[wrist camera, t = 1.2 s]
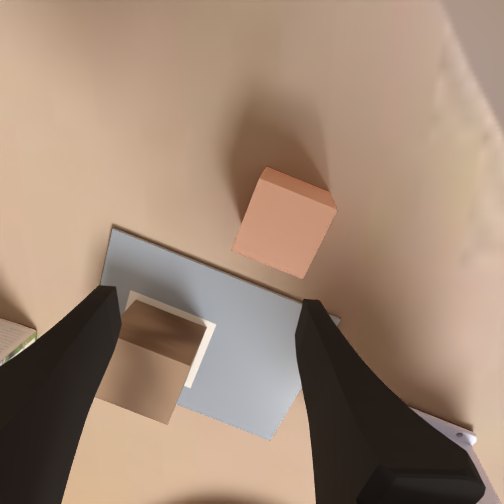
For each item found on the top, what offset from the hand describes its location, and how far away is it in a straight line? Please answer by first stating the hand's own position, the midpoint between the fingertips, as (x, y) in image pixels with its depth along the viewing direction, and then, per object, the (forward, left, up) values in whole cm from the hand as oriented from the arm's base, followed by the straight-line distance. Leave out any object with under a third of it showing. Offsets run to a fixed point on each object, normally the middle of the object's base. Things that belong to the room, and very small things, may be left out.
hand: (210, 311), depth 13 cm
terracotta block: (-2, -2, -11) cm, 12 cm away
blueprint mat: (0, +11, -11) cm, 16 cm away
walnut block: (+3, +12, -11) cm, 17 cm away
